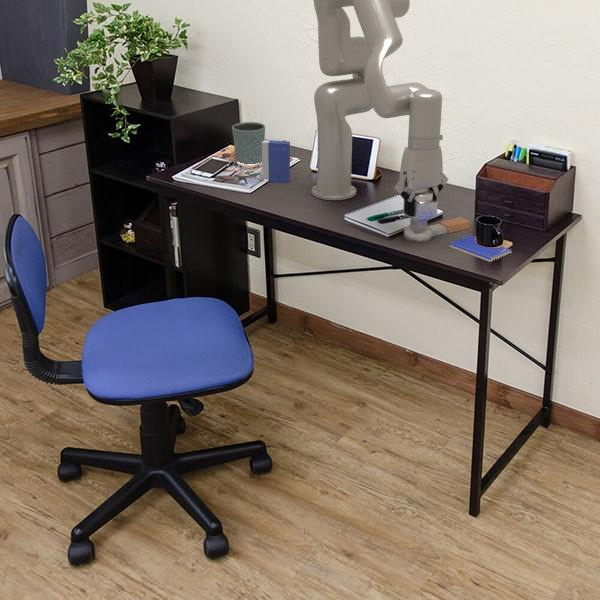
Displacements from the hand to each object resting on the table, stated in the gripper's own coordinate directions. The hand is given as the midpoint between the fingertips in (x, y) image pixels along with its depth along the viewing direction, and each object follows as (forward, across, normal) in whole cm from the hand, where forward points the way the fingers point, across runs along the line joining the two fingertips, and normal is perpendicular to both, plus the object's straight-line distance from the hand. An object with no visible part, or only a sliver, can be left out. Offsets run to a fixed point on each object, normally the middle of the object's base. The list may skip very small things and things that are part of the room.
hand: (419, 212), depth 230 cm
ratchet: (+7, -6, 0) cm, 9 cm away
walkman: (+6, +11, -56) cm, 58 cm away
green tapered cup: (+6, +11, -74) cm, 75 cm away
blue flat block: (+8, -8, +14) cm, 18 cm away
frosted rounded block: (+1, 0, 0) cm, 1 cm away
